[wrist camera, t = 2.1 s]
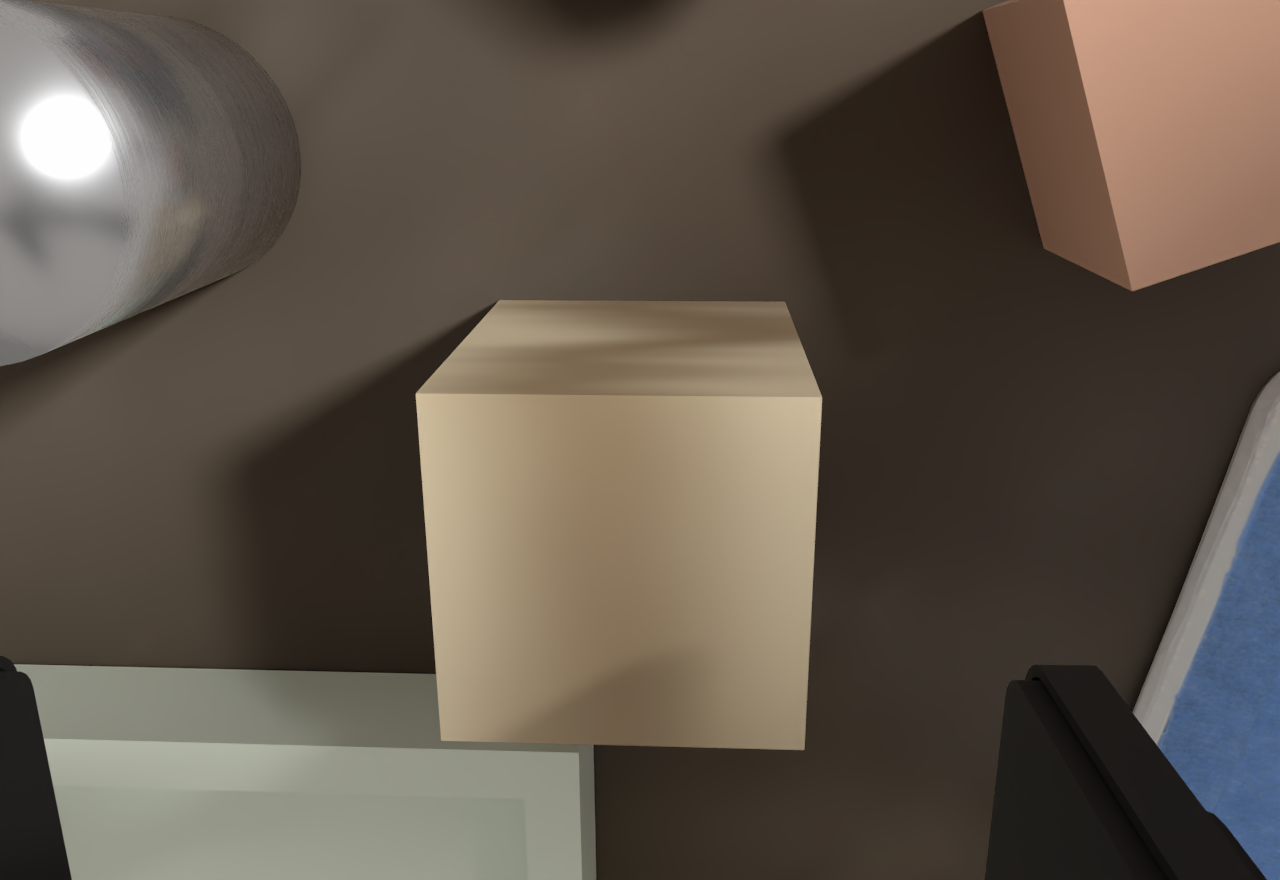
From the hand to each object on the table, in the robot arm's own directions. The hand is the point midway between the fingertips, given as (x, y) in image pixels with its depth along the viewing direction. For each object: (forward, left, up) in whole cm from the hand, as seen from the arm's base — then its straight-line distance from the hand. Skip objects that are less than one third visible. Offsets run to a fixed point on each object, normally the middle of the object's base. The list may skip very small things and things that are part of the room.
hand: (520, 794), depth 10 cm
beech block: (-1, 0, -10) cm, 10 cm away
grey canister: (+7, -5, -10) cm, 14 cm away
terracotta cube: (-9, -6, -10) cm, 15 cm away
